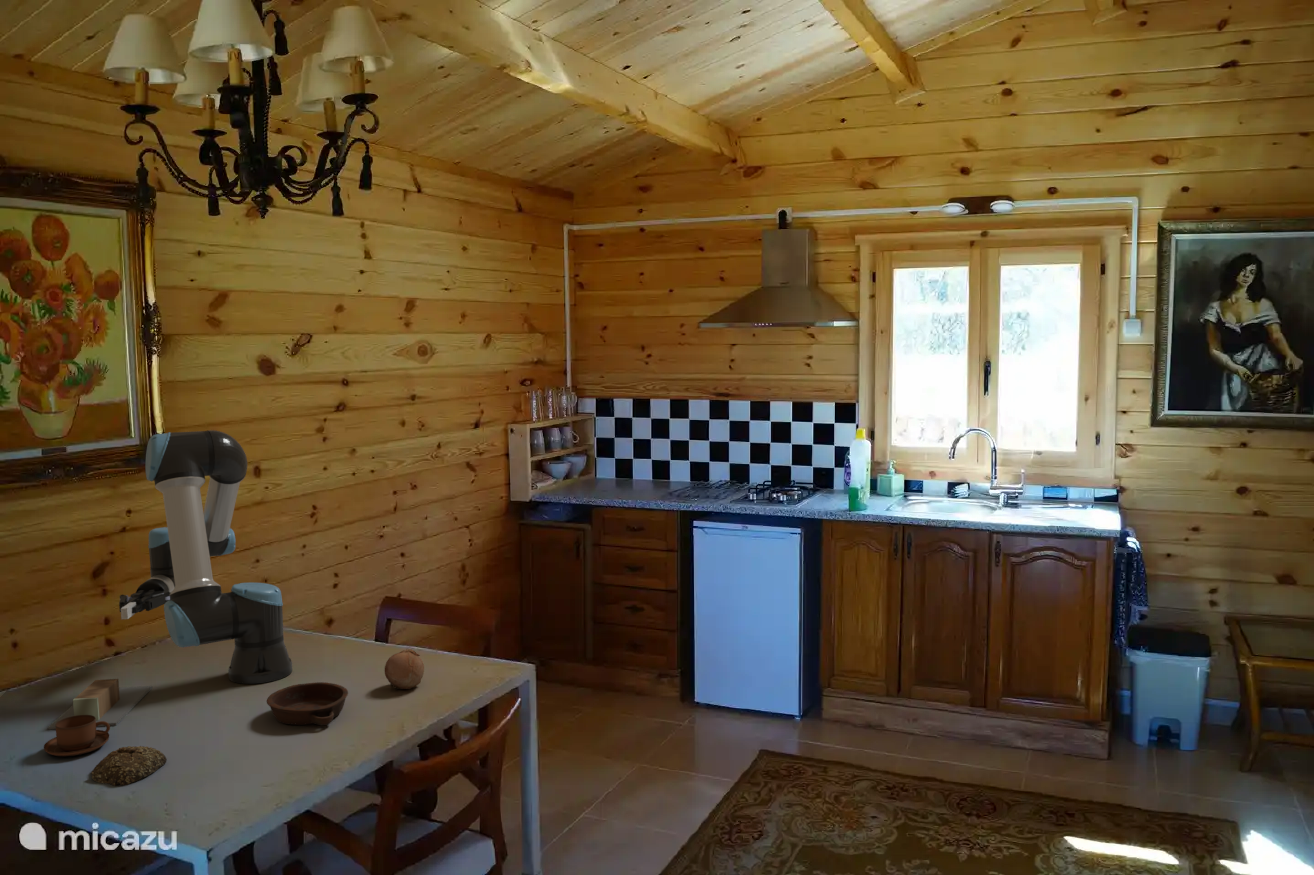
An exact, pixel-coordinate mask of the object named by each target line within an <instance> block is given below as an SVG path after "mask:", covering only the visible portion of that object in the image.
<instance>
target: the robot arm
mask: <svg viewBox="0 0 1314 875" xmlns="http://www.w3.org/2000/svg"><path fill="white" fill-rule="evenodd" d="M146 446H147V447H146V451H145V453H146V454H145V476H146V480H147V481H148V482H154V488H155V489H156V490H157V491H159V493H162V497H163V504H164V505H163V506H164V513H165V518H166V520H165V521H166V526H164V527H156V528H153V529H151V530H150V531H149V533H148V547H147V548H148V553H149V554H148V555H149V563H150V564H149V565H150V566H149V568H150V570H149V571H150V572H149V573H150V578H148V579H146V581H144V582H142V583H141V584H140V585H139V586H138V587H137V589H136V590H135V592H134V593H132V594H130V596H129V595H127V594H120V595H119V602H118V605H119V613H120V620H129V619H130V618H131V617H133V616H134V615H136V614H138V613H142V612H143V611H147V612H149V611H152V610H154V609H157V608H160V607H161V606H163V612H164V620H165V623H166V624H165V625H166V627H167V628H166V629H167V630H168V631H167V632H168V634H169V636H170V638H171V641H172V642H173V643H174V644H175V645H176V647H179V648H187V647H200V646H202V645H209V644H211V643H212V644H213V643H218V642H219V643H220V642H223V641H230V640H234V648H233V652H232V655H231V660H230V665H229V666H228V679H229V680H230V682H233V683H236V684H244V685H247V684H248V685H250V684H251V685H253V684H264V683H270V682H274V681H277V680H281V679H283V678H286V677H287V676H289V675H290V674H292V673H293V661H292V658H290V656H289V652H288V649H287V647H286V644H285V638H284V616H283V606H284V604H283V597H282V591H281V589H280V588H279V587H278V586H276V585H274V584H271V583H264V582H241V583H234V584H233V585H232V586H231V588H230V592H222V587H221V586H222V585H221V584H219V583H218V582H217V581H215V580H214V578H213V577H214V576H213V571H212V563H211V562H212V561H211V557H221V556H225V555H230V554H233V552H234V551H235V550H236V543H237V542H236V541H237V540H236V536H235V535H236V534H235V531H234V530H233V529H232V528H231V525H232V521H233V516H234V512H235V506H236V501H237V498H238V493H239V489H240V484H241V482H242V481H243V480H244V479H245V478H246V475H247V471H248V458H247V454H246V452H245V450H244V448H243V447H242V445H241V443H239V442H238V441H237V440H236V438H234V437H233V436H232V435H230V434H228V433H226V432H224V431H220V430H214V429H213V430H212V429H211V430H200V431H198V430H196V431H179V432H177V431H176V432H170V431H168V432H166V433H157V434H154V435H151V436H150V437H149V439H148V442H147V445H146ZM206 477H209V480H208V481H209V482H208V487H207V491H206V497H205V503H204V506H203V501H202V493H201V487H203V486H204V485H205V483H206ZM203 507H204V508H203Z"/></svg>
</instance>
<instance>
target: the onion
mask: <svg viewBox="0 0 1314 875" xmlns="http://www.w3.org/2000/svg"><path fill="white" fill-rule="evenodd" d="M420 656H421V655H420V654H419V653H417V652H416V651H415V650H413V649H411V648H407V649H404V650H402V651H400V652H397V653H394V654H392V655H391V656H390V657H389V658H388V659H387V660H386V663H385V665H384V675H385V678H386V680H387V681H388V682H389V684H390V686H392V687H393V688H394V689H398V690H399V691H401V690H409V689H410V690H411V689H412V688H413V689H414V688H417V686H419V685H420V684H421V683H422V680H423V677H424V673H425V665H424V664H425V663H424V661H423V660H422V658H421V657H420Z"/></svg>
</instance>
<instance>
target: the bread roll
mask: <svg viewBox="0 0 1314 875" xmlns="http://www.w3.org/2000/svg"><path fill="white" fill-rule="evenodd" d="M167 759H168V758H167V757H166V755H165V754H164V753H163V752H162V751H161V750H159V749H156V748H154V747H149V746H143V745H140V746H135V745H134V746H130V745H129V746H122V747H119V748H118V749H115V750H113V751H111V752H109V753H108V754H107V755H106V756H105V757H103V759H101V760H100V762H98V763H97V764H96V765H95V767H94V768H93V769H92V771H91V773H90V774H91V779H92V780H93V781H94V782H97V783H98V784H108V785H109V784H110V785H111V786H114V787H117V786H118V787H119V786H128V785H131V784H134V783H135V782H138V781H140V780H143V779H144V778H146V777H148V776H149V775H152V774H154V773H155V772H156V771H157V770H159V769H160V768H161V767H163V766H165V765H166V763H167V761H168V760H167Z"/></svg>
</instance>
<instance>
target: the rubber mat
mask: <svg viewBox="0 0 1314 875" xmlns="http://www.w3.org/2000/svg"><path fill="white" fill-rule="evenodd" d="M152 689H153V685H143V686H142V685H141V686H122V687H120V686H119V696H120V699H119V700H118V701H117V702H116V703H115V704H114V705H113V706H112V707H111V708H110V709H109V710H108V711H107V712H106V713H105V714H104V715H103V716H102V717H101V718H100V719H99V720H96V722H100V721H105V722H107V723H108V724H109V725H110V727H113V726H117V725H118V724H119V723H120V722H121V721H122V720H123V719H124V718H125V717H126V716H127V715H128V714H129V713H130V712H131V711H132V710H133V708H135V707H136V706H137V705H138V703H140V701H141V700H142V699H143V698H145V696H146V695H147V694H148V693H149V692H150V691H151V690H152ZM71 716H74V706H73V704H72V705H71V706H70V707H68V708H67V710H66V711H64V712H63V713H61V715H60V716H59V717H57V718H56V719H55V720H54V721H53V722H52V723H51V724H50V725H49V726H48V727H47V729H48V730H56V727H55V724H56V723H57V722H58V721H60V720H62V719H64V718H67V717H71ZM97 727H106V726H105V725H103V724H101V725H98V726H97ZM97 727H96V728H97Z"/></svg>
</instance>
